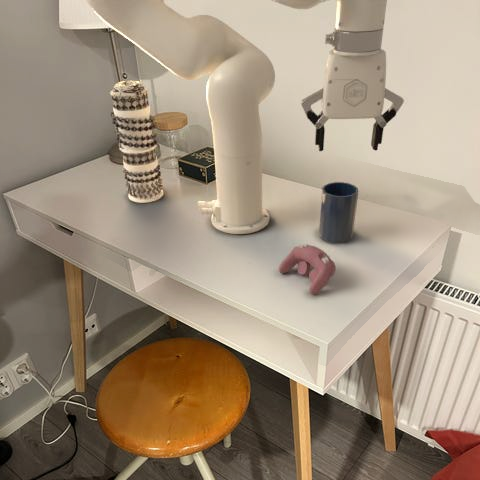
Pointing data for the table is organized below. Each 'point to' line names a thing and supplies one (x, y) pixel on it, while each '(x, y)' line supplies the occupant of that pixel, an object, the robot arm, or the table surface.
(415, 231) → the table surface
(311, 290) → the video game controller
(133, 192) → the decorative candle
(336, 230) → the cup
